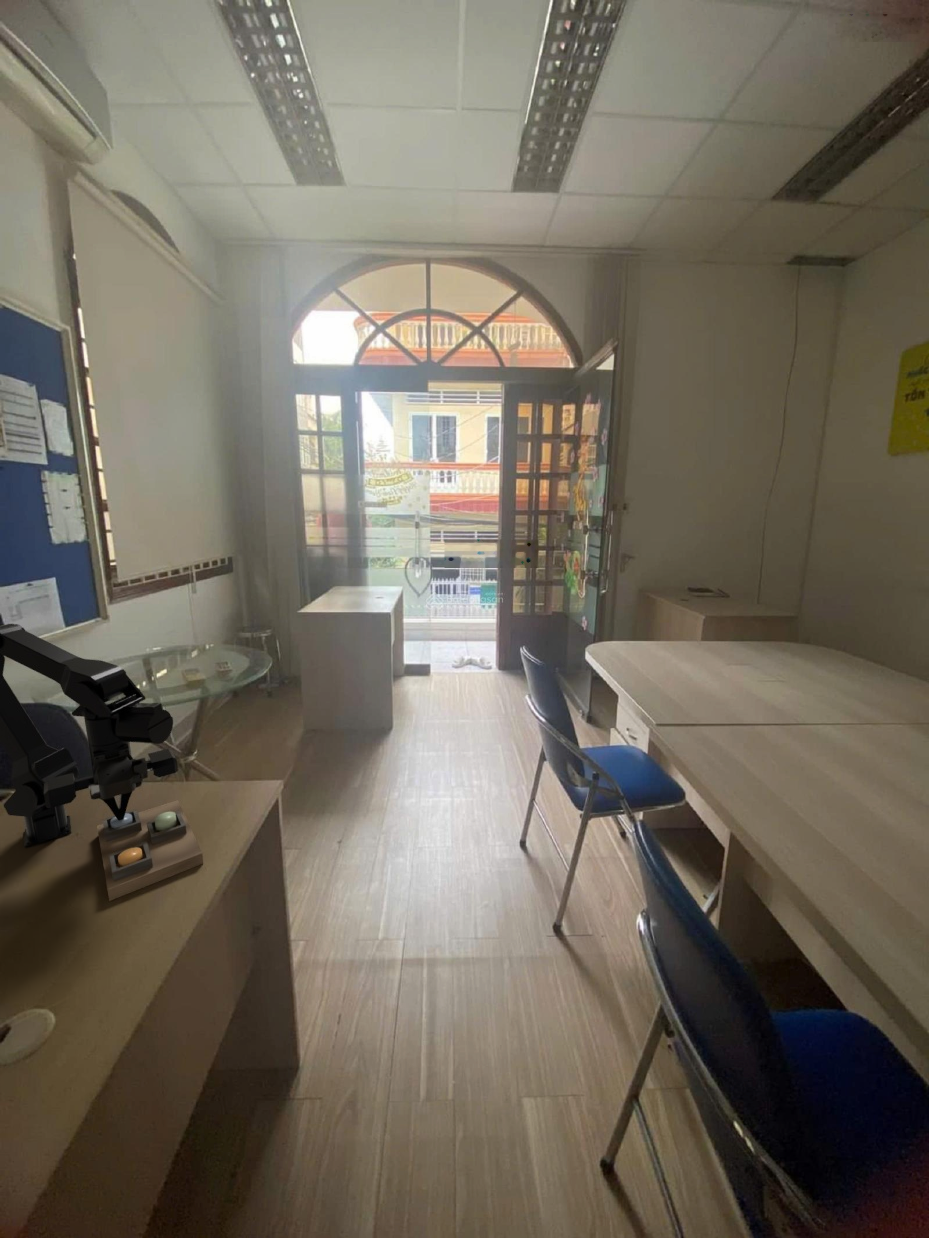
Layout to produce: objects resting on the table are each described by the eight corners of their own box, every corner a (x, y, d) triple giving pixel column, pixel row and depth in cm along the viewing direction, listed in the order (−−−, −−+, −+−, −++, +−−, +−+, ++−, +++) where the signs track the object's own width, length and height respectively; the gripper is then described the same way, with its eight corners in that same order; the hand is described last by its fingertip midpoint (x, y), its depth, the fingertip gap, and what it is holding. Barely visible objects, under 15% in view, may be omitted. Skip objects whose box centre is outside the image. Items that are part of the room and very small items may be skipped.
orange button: (118, 861, 79) (116, 852, 79) (141, 853, 81) (140, 844, 81) (120, 872, 77) (119, 863, 76) (144, 863, 79) (143, 854, 78)
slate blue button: (110, 825, 88) (109, 817, 88) (131, 818, 90) (130, 811, 90) (112, 834, 86) (111, 826, 85) (134, 827, 88) (133, 819, 87)
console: (98, 835, 89) (95, 817, 88) (179, 808, 97) (177, 792, 97) (109, 901, 74) (106, 880, 74) (203, 863, 83) (201, 844, 82)
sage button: (154, 824, 87) (153, 816, 87) (174, 817, 89) (173, 809, 89) (157, 833, 85) (156, 824, 84) (178, 825, 87) (177, 817, 87)
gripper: (37, 775, 72) (54, 866, 76) (179, 740, 84) (188, 820, 87) (37, 747, 81) (53, 831, 84) (167, 719, 93) (176, 793, 96)
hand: (120, 818), depth 88 cm, fingers closed, pressing on slate blue button
